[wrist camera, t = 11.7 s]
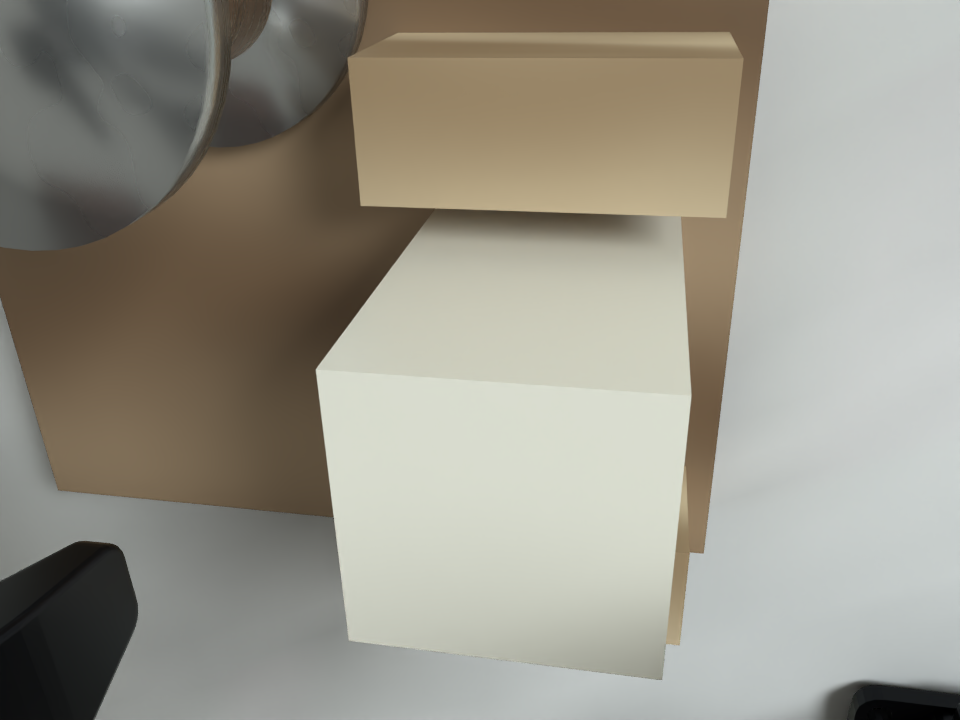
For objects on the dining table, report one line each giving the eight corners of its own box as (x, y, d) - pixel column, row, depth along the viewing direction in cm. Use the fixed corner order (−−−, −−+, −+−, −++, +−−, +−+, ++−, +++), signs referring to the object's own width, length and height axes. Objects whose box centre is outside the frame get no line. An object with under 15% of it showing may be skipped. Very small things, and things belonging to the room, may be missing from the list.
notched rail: (677, 550, 17) (679, 645, 15) (429, 526, 18) (397, 612, 16) (729, 32, 13) (744, 58, 11) (397, 32, 14) (347, 57, 11)
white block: (662, 425, 16) (661, 680, 11) (447, 408, 17) (348, 640, 11) (680, 212, 14) (691, 395, 9) (438, 204, 15) (315, 369, 10)
